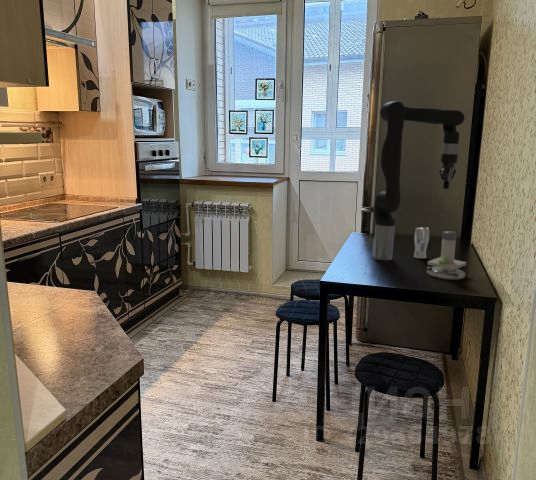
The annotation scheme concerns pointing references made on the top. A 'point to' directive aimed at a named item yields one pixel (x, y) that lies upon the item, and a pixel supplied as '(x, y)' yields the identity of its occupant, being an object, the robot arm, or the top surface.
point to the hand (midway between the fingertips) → (445, 188)
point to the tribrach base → (446, 273)
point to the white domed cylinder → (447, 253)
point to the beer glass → (421, 242)
